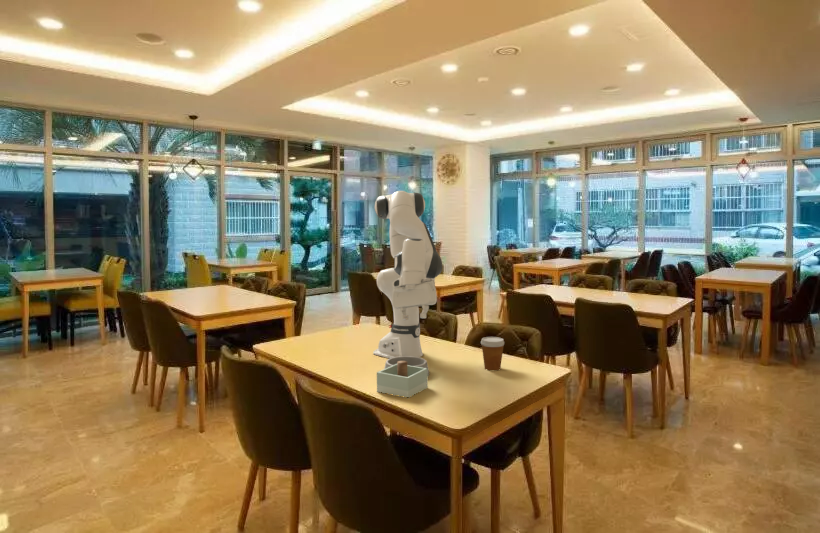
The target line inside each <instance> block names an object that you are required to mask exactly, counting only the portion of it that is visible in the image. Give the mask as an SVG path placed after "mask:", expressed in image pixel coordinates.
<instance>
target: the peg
mask: <svg viewBox="0 0 820 533" xmlns="http://www.w3.org/2000/svg"><path fill="white" fill-rule="evenodd" d="M397 375H398V376H404V377H408V367H407V361H398V362H397Z"/></svg>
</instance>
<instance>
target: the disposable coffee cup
mask: <svg viewBox="0 0 820 533" xmlns="http://www.w3.org/2000/svg"><path fill="white" fill-rule="evenodd" d="M505 343H506V342H505V341H504V338H501V337H497V336H486V337H482V338H481V341H480V344H481V348H482V349H481V350H482V357H483V358H482V359H483V366H484V370H486V369H487V371H490V370H497V371H499V369H500V370H501V367H502V359H503V352H504V345H505Z"/></svg>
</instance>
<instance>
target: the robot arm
mask: <svg viewBox="0 0 820 533" xmlns="http://www.w3.org/2000/svg"><path fill="white" fill-rule="evenodd" d="M425 208H426V201H425V199H424V197H423V195H422V193H419V192H412V193H411V192H407V191H405V190H397V191H395V192H393V193H392V194H387V195H385V194H383V195H380V196H378V197H377V198H376V199H375V202H374V211H375V213H376V215H377V217H378V218H379V219H381V220H387V219H389V246H390V248H389V249H390V255H391V257H392V258H393V260H394V261H393V263H394V264H393V267H391V268H386V269H381V270H380V271H379V272H378V274H377V276H376V286H377V288H378V290H379V291H380V292H382V293H383V294H384V295H385V296H386V297H387V298H388V299H389V301H390V303H391V306H392V311H393V313H392V314H393V323H392V324H390V325H388V328H389V329H390V331H389V332H388V333H387V334H385V335H384V336H383V337H382V338H380V340H379V342H378V346H377V347H378V348H376V349H375V350H373V353H372V355H376V356H379V357H383V358H387V359H390V358H393V357H399V356H414V357H420V358H422V356H424V353H423V350H422V346H421V340H420V337H421V336H420V335H421V324H420V319H427V313H428V311H429V309H430V306H433V305H436V304H437V301H438V297H437V296H438V295H437V289H436V284H435V283H436V278H437V277H438V276H440V274H441V273H442V271H443V261H442V257H441V256H440V254H439V252H438V251H437V249H436V246H435V242H434V241H433V238H432V236H431V233H430V230H429V229H428V226H427V224H426V223H425V222H423V221H422V220H421V219H420V217H422V215H423V214H424V212H425ZM419 307H421V309H422V311H421V312H420V308H419Z"/></svg>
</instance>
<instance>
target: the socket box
mask: <svg viewBox="0 0 820 533" xmlns="http://www.w3.org/2000/svg"><path fill="white" fill-rule="evenodd" d="M407 367H408V377H404V376H398V375H397V364H395V365H392V366H390V367H388V368H385V367H384V368H385V369H384V368H383V369H380V370H379V371H376V392H377V393H381V392H382V393H381V394H385V393H388V394H387V395H390V394H393V395H392V396H395V395H399V396H398V397H400V396H404V397H409V398H411V397H413V396H415V395H417V394H418V392H419V393H420V392H422V391H423V390H426V389H428V383H429V382H428V379H429V378H428V377H429V376H428V370H427V368H422V367H416V366H410V365H407ZM416 393H417V394H416ZM414 394H415V395H414ZM412 395H413V396H412ZM410 396H411V397H410ZM404 397H403V398H404Z"/></svg>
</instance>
